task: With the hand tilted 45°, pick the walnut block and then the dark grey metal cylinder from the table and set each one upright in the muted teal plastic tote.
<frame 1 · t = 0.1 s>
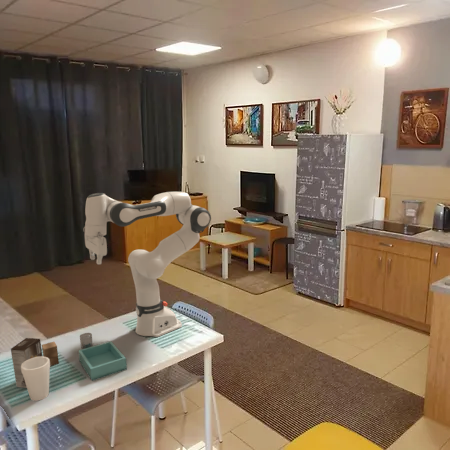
hand: (95, 261, 184), 39 cm above the table, tool pointing down, fingers open, 8 cm apart
coffee box: (31, 381, 162), on the table
tote: (102, 365, 172), on the table
foam cup: (39, 395, 153), on the table
grey cylinder: (87, 352, 184), on the table
walnut block: (51, 362, 176), on the table
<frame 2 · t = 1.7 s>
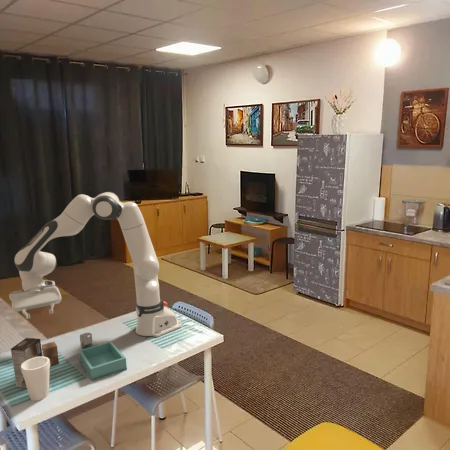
hand: (40, 315, 183), 17 cm above the table, tool tilted 45°, fingers open, 8 cm apart
nothing on the table moved.
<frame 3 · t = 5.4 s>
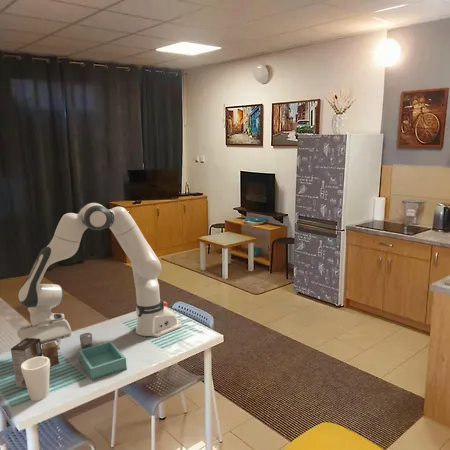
hand: (49, 351, 175), 5 cm above the table, tool tilted 45°, fingers closed on walnut block, 5 cm apart
walnut block: (51, 362, 176), on the table, touching gripper
everything else where it was.
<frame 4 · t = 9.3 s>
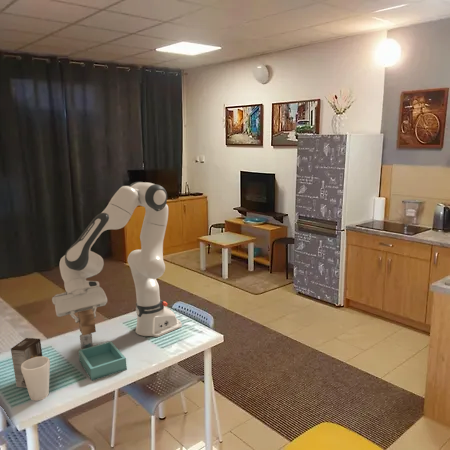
hand: (86, 319, 167), 21 cm above the table, tool tilted 45°, fingers closed on walnut block, 5 cm apart
walnut block: (87, 331, 168), point 16 cm above the table, touching gripper
everything else where it was.
when the fingers open (7 cm above the table, at t = 13.0 s): walnut block drops 2 cm, resting on tote.
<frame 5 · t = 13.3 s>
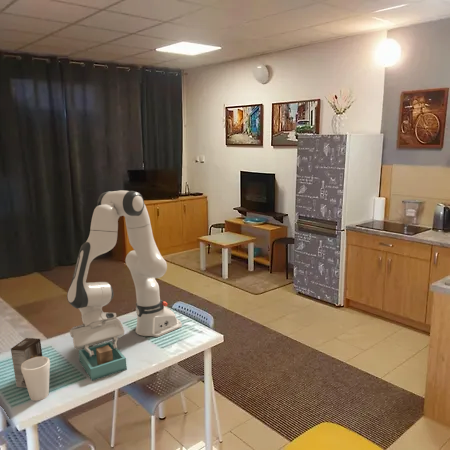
hand: (103, 352, 168), 7 cm above the table, tool tilted 45°, fingers open, 8 cm apart
walnut block: (105, 367, 169), point 1 cm above the table, touching tote
everything else where it was.
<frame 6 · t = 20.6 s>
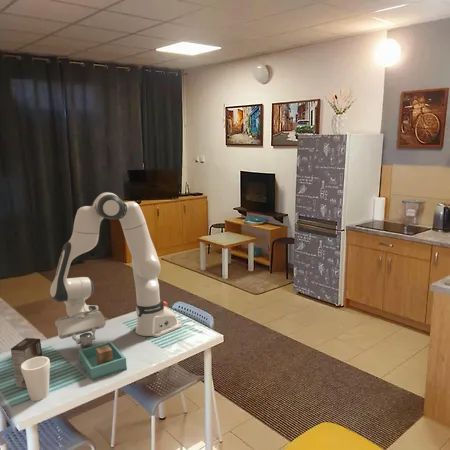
hand: (86, 341, 183), 5 cm above the table, tool tilted 45°, fingers closed on grey cylinder, 5 cm apart
grey cylinder: (87, 352, 184), on the table, touching gripper
everything else where it was.
when the fingers open (7 cm above the table, at t = 27.3 s): grey cylinder drops 1 cm, resting on tote.
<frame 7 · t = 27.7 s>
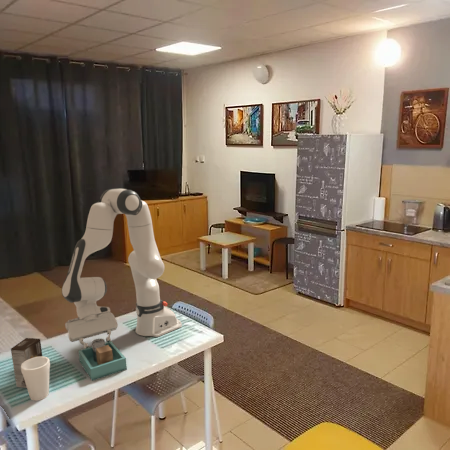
hand: (97, 344, 175), 7 cm above the table, tool tilted 45°, fingers open, 8 cm apart
grey cylinder: (99, 359, 176), point 1 cm above the table, touching tote
everything else where it was.
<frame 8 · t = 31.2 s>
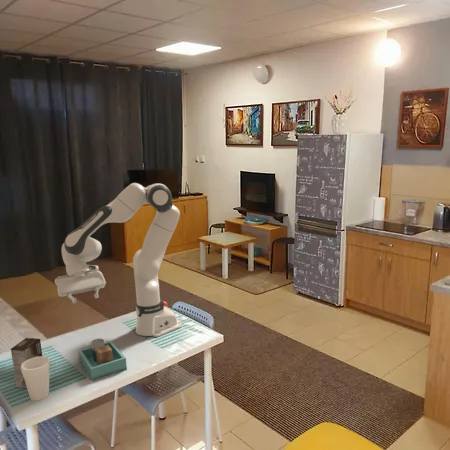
hand: (86, 300, 181), 23 cm above the table, tool tilted 45°, fingers open, 8 cm apart
nothing on the table moved.
at the end: walnut block inside the target area on the tote (4.1 cm from its centre), point 1.0 cm above the tote's base; grey cylinder inside the target area on the tote (4.0 cm from its centre), point 1.1 cm above the tote's base; the gripper is holding nothing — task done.
